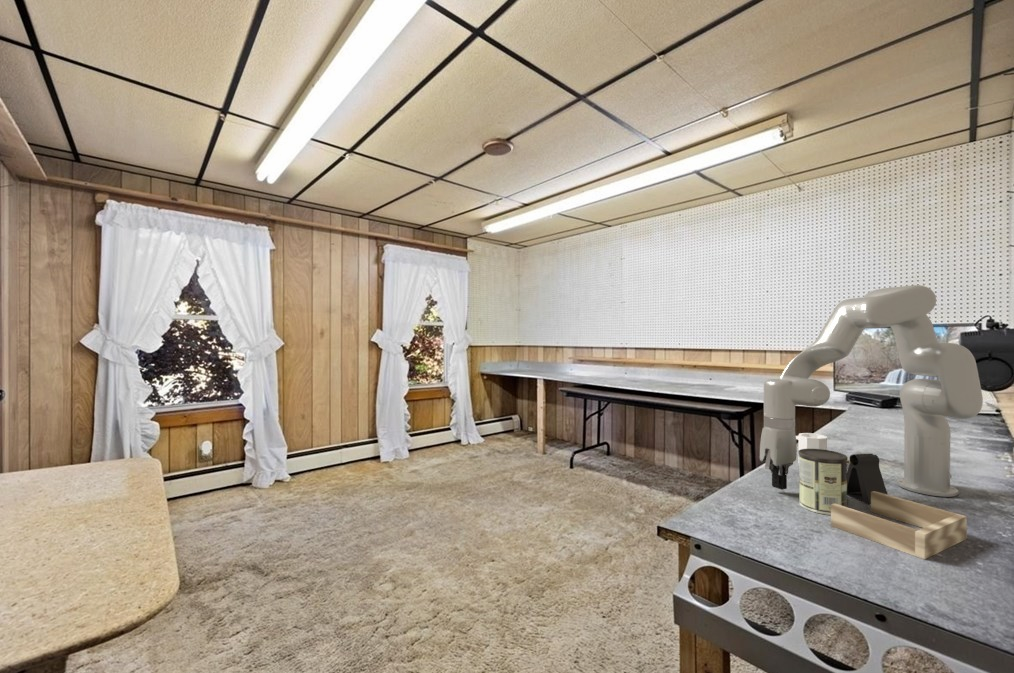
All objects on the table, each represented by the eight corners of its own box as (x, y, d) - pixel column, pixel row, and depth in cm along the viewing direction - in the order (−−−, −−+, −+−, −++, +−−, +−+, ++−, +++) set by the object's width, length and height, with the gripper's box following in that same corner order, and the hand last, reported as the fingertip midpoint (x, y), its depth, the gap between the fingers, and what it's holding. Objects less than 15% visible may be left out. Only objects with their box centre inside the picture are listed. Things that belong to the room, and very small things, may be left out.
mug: (832, 465, 148) (832, 436, 147) (820, 469, 143) (820, 440, 143) (793, 456, 158) (793, 429, 158) (781, 460, 153) (781, 433, 153)
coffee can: (822, 498, 119) (822, 447, 119) (858, 514, 109) (858, 458, 109) (788, 501, 117) (788, 449, 117) (822, 517, 107) (822, 460, 107)
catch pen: (874, 510, 111) (874, 490, 111) (966, 538, 95) (966, 516, 95) (830, 525, 103) (830, 504, 102) (924, 559, 87) (924, 534, 87)
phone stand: (890, 504, 115) (890, 458, 115) (869, 505, 114) (869, 459, 114) (859, 491, 124) (859, 449, 124) (840, 492, 123) (840, 450, 123)
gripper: (782, 418, 129) (782, 479, 130) (749, 423, 123) (749, 487, 123) (809, 423, 123) (809, 487, 123) (775, 428, 116) (775, 496, 116)
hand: (779, 487), depth 123 cm, fingers closed
